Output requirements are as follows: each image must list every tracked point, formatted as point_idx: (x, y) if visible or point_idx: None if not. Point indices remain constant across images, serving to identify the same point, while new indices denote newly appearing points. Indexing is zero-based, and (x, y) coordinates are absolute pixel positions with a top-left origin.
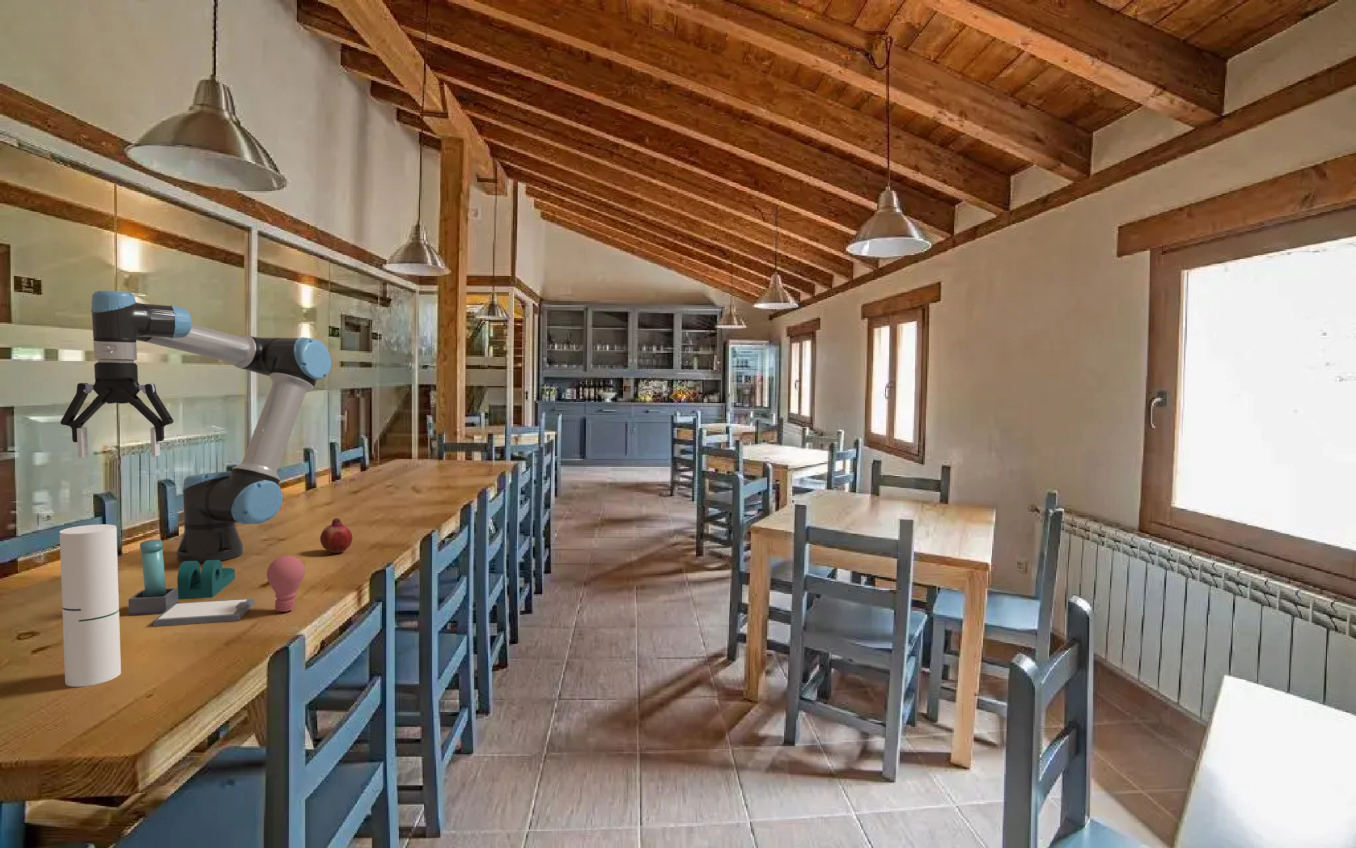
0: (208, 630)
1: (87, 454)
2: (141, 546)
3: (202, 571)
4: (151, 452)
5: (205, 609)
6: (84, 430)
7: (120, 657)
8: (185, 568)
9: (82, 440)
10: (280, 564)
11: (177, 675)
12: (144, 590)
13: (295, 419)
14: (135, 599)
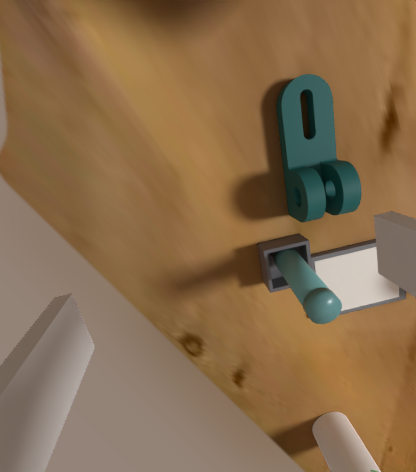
0: (379, 324)
1: (71, 305)
2: (314, 321)
3: (340, 213)
4: (393, 282)
5: (361, 283)
6: (8, 450)
7: (354, 429)
8: (315, 216)
9: (59, 411)
10: None
11: (395, 419)
12: (267, 253)
13: None
14: (278, 290)
